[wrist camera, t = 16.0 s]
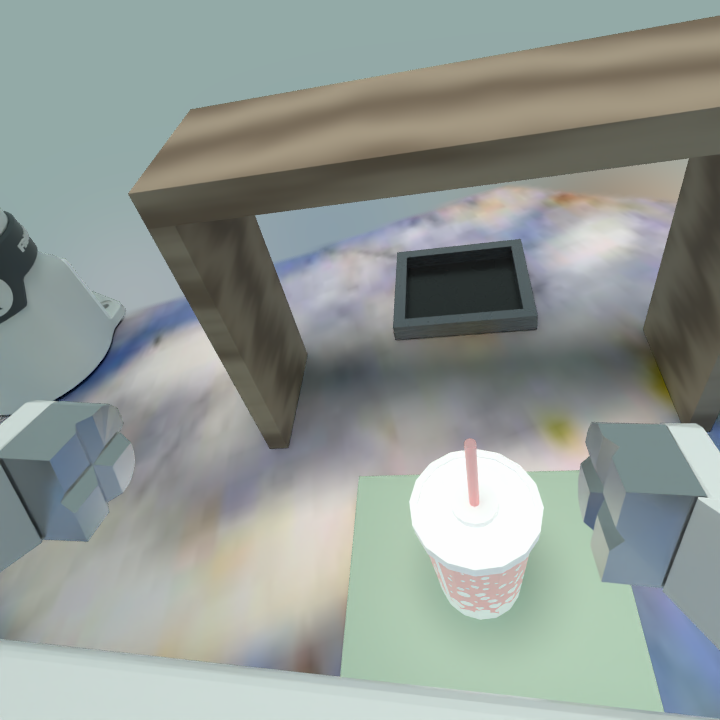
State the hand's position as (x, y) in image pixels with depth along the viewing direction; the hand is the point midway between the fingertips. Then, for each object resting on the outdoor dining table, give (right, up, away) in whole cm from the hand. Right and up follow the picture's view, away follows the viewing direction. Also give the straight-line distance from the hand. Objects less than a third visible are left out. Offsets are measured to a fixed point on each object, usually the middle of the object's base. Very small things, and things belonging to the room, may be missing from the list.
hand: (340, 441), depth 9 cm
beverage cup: (+7, -12, +22) cm, 26 cm away
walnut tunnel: (+9, -1, +32) cm, 33 cm away
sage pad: (+8, -12, +22) cm, 26 cm away
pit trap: (+10, +8, +40) cm, 42 cm away
